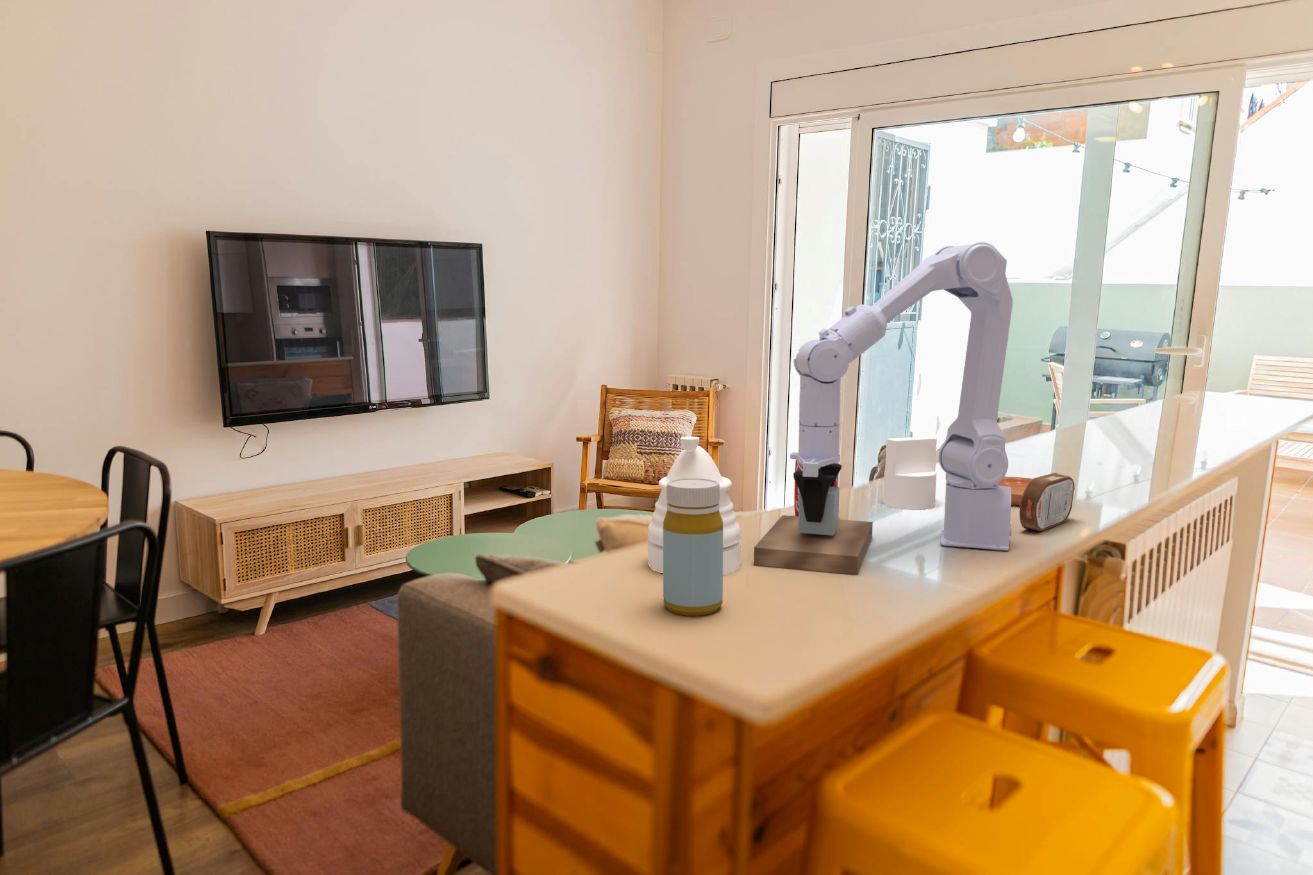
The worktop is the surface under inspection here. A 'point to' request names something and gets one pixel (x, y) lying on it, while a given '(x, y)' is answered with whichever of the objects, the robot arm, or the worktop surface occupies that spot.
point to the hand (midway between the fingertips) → (817, 517)
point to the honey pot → (702, 466)
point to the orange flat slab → (1015, 487)
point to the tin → (1046, 502)
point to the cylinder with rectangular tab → (910, 473)
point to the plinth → (814, 547)
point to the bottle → (693, 547)
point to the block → (829, 517)
